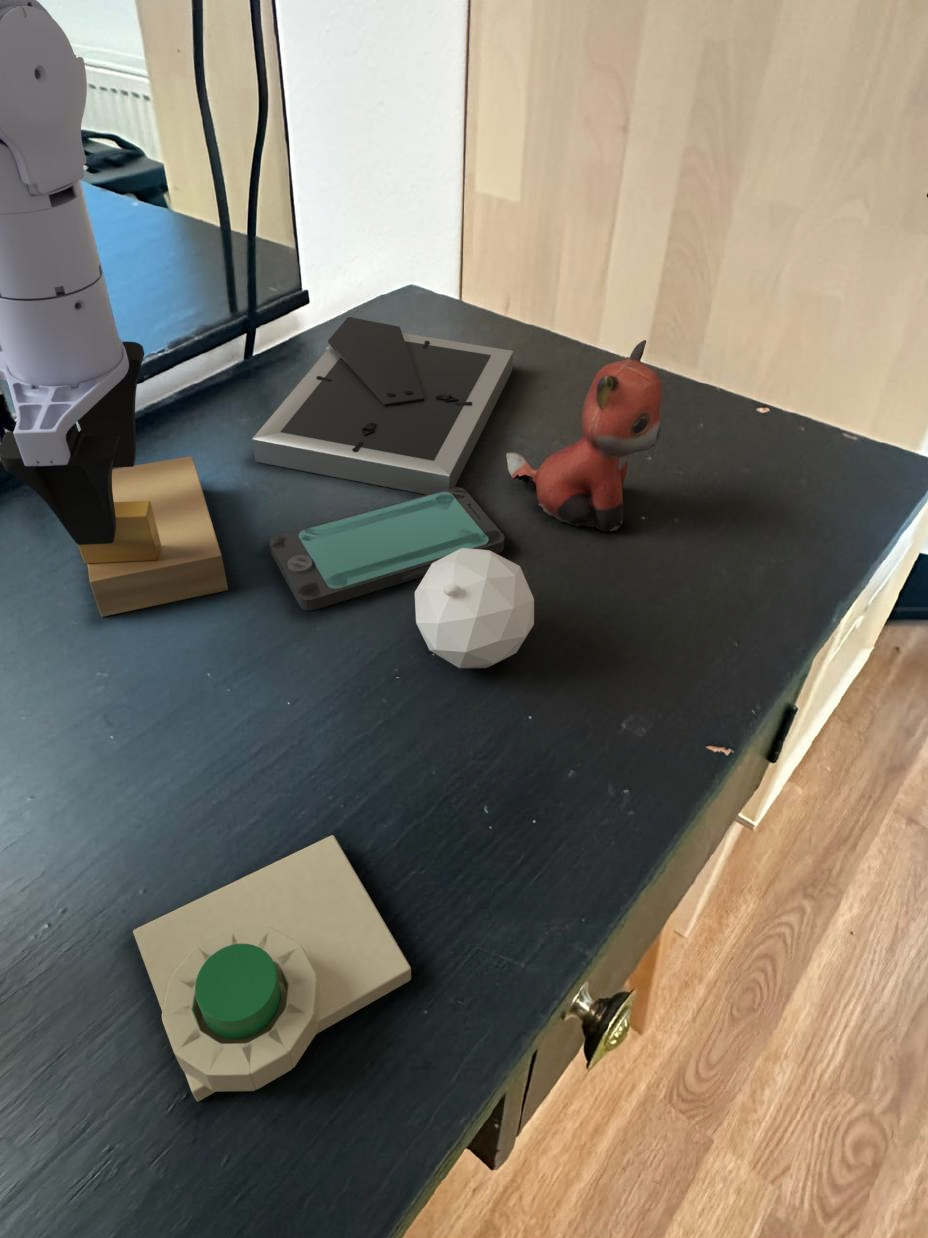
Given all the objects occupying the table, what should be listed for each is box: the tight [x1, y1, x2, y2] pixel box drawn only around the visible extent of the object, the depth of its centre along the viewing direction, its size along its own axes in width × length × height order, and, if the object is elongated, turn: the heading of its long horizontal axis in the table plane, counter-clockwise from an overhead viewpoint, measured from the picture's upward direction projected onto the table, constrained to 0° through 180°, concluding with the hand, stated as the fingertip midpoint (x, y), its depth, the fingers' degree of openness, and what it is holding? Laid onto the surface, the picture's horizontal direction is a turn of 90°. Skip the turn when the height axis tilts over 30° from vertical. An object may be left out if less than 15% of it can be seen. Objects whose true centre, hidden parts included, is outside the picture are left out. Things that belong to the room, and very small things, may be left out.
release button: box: [195, 944, 281, 1040], centre depth 36 cm, size 3×3×2 cm
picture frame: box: [251, 316, 514, 495], centre depth 75 cm, size 16×3×21 cm
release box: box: [132, 834, 412, 1102], centre depth 39 cm, size 10×9×3 cm
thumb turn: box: [77, 501, 161, 564], centre depth 55 cm, size 4×2×4 cm, turn 97°
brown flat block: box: [86, 455, 229, 618], centre depth 61 cm, size 12×8×3 cm, turn 21°
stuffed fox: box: [506, 339, 663, 532], centre depth 64 cm, size 8×11×12 cm
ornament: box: [414, 548, 535, 669], centre depth 53 cm, size 7×7×8 cm
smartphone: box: [269, 486, 505, 612], centre depth 62 cm, size 7×1×15 cm
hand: (107, 500), depth 54 cm, fingers open, 7 cm apart
